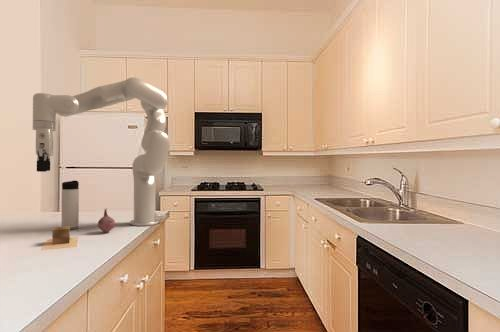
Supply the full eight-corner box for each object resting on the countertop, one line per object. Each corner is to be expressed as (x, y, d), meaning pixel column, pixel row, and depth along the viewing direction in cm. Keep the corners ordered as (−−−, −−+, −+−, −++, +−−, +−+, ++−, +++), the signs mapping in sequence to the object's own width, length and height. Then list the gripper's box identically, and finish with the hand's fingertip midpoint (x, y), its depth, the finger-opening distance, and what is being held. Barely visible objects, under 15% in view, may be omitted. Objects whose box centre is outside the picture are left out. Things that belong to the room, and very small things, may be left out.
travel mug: (82, 227, 144) (82, 180, 143) (72, 230, 137) (72, 181, 137) (68, 226, 144) (68, 180, 144) (58, 229, 138) (58, 181, 137)
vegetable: (95, 233, 133) (95, 208, 133) (110, 231, 137) (110, 206, 137) (101, 235, 129) (101, 209, 129) (117, 233, 133) (117, 208, 133)
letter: (77, 237, 125) (77, 237, 125) (77, 247, 111) (77, 246, 111) (46, 240, 120) (46, 239, 120) (41, 250, 107) (41, 249, 107)
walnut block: (69, 240, 120) (69, 226, 120) (69, 243, 115) (69, 228, 115) (53, 241, 118) (53, 227, 118) (52, 244, 113) (52, 229, 113)
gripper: (52, 125, 122) (52, 172, 122) (57, 128, 138) (57, 170, 138) (28, 123, 119) (27, 171, 119) (36, 127, 135) (35, 170, 135)
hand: (43, 171), depth 129 cm, fingers open, 9 cm apart
